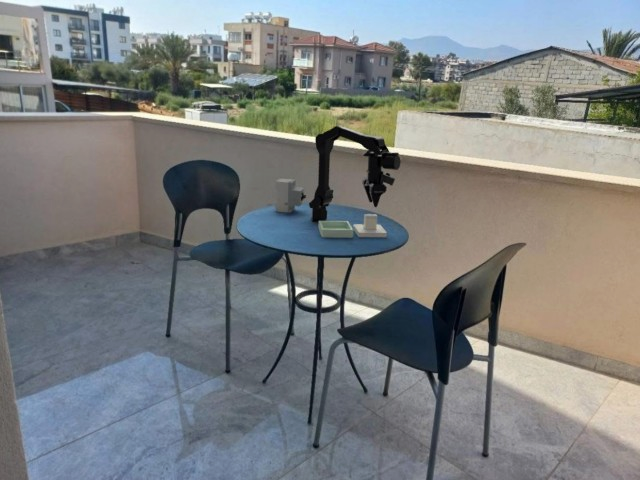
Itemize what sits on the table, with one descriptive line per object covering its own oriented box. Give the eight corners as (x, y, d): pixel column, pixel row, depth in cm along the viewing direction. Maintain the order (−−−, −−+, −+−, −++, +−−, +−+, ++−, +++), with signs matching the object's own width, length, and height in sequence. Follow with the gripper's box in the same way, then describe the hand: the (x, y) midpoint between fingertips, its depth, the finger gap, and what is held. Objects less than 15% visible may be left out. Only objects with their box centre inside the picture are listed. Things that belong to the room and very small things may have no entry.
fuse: (364, 234, 189) (366, 216, 186) (363, 231, 192) (364, 214, 189) (375, 234, 190) (377, 216, 187) (374, 231, 192) (375, 214, 190)
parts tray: (322, 237, 182) (322, 229, 181) (318, 227, 194) (318, 220, 193) (352, 237, 184) (353, 230, 182) (347, 228, 196) (347, 221, 195)
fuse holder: (358, 237, 184) (358, 232, 184) (353, 228, 196) (353, 224, 195) (386, 237, 186) (386, 232, 185) (379, 228, 197) (379, 224, 196)
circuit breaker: (303, 214, 215) (304, 183, 210) (274, 211, 217) (275, 181, 212) (306, 210, 222) (307, 180, 217) (279, 207, 224) (279, 178, 219)
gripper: (400, 170, 174) (397, 209, 179) (387, 164, 192) (386, 199, 197) (372, 171, 173) (370, 209, 178) (362, 164, 191) (361, 200, 196)
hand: (373, 204), depth 187 cm, fingers open, 9 cm apart
